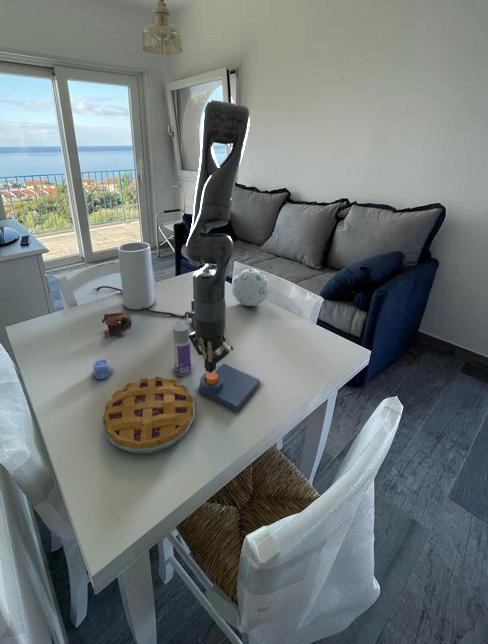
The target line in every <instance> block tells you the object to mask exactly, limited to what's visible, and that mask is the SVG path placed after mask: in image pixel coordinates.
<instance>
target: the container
mask: <svg viewBox="0 0 488 644" xmlns="http://www.w3.org/2000/svg"><path fill="white" fill-rule="evenodd" d="M189 335H190V325H189V324H188V323H186V322H178V323H175V324H174V325H173V326H172V339H173V341H172V342H173V343H172V345H173V359H174V373H175V375H177V376H180V377H185V376H187V375H189V374H191V372H192V360H191V359H192V358H191V357H192V356H191V340H190V339H189Z"/></svg>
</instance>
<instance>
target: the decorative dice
mask: <svg viewBox="0 0 488 644" xmlns="http://www.w3.org/2000/svg"><path fill="white" fill-rule="evenodd" d="M92 366H93V374H94V377H95V378H96V379H97V380H103V379H105V378H108V377H109V376H110V365H109V360H107V359H105V358H100V359H97V360H96V361H95V362H93V364H92Z"/></svg>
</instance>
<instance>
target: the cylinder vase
mask: <svg viewBox="0 0 488 644" xmlns="http://www.w3.org/2000/svg"><path fill="white" fill-rule="evenodd" d="M151 252H152V251H151V245H150V244H149V243H148V242H143V241H132V242H125V243H122V244H120V245H118V246H117V255H118V265H119V273H120V282H121V290H123V293H122V296H123V297H122V298H123V305H124V307H125V308H126V309H129V310H133V311H134V310H135V311H136V310H137V311H138V310H143V309H142V308H146V309H149V307H151V306H153V305H154V304H155V291H154V290H155V289H154V279H153V267H152V266H153V265H152V253H151Z"/></svg>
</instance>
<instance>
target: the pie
mask: <svg viewBox="0 0 488 644" xmlns="http://www.w3.org/2000/svg"><path fill="white" fill-rule="evenodd" d="M193 398H194V397H192V394H191V392H190V391H189V389H188V387H187V386H185V385H184V384H181V383H180V382H179V381H178V380H177V379H173V378H169V379H167V378H163V377H162V376H155V377H154V378H148V377H144V378H140V380H139V381H136V382H132V381H131V382H129V383H127V384H125V386H124V387H123V388H121V389H117V390H115V391H114V393H113V394H112V397H111V398H110V399H109V400H108V401H107V402H106V404H105V408H104V411H103V414H102V417H101V423H102V429H103V431H102V432H103V434H104V435H105V436H106V438H107V439H108V440H109V441H110V443H111V444H112V445H113V446H116V447H118V448H119V449H120V450H122V451H125V452H128V453H132V454H153V453H156V452H159V451H161V450H164V449H167V448H170V447H172V446H173V445H174V444H175V443H177V442H179V441H180V440H181V439H182V438H183V437H184V435H185V434H186V433H187V432H188V431H189V428H190V427H191V425H192V423H193V421H194V419H195V411H196V409H195V408H196V405H195V403H196V402H195V401H194V399H193Z"/></svg>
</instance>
